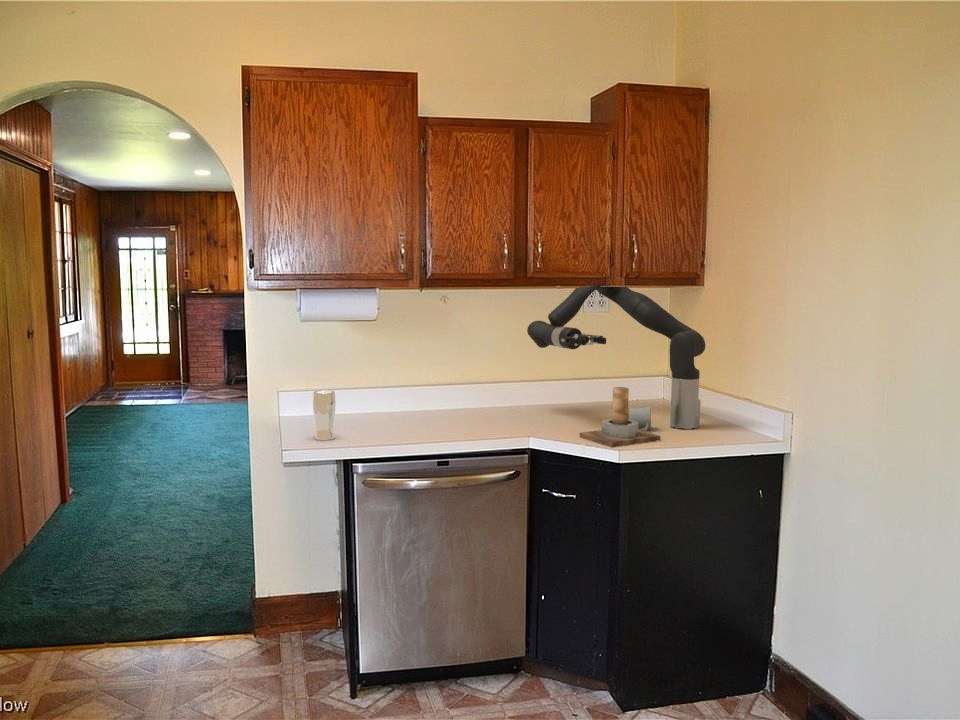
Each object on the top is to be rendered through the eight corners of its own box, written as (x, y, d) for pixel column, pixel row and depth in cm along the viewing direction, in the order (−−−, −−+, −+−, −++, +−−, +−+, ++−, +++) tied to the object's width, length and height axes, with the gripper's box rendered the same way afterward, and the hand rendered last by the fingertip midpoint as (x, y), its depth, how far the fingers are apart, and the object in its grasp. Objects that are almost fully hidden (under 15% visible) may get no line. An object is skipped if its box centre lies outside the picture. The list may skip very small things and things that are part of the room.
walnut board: (627, 431, 267) (627, 426, 267) (660, 440, 253) (660, 435, 253) (579, 437, 257) (579, 432, 257) (611, 447, 243) (611, 442, 243)
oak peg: (620, 432, 258) (621, 386, 256) (630, 434, 254) (632, 388, 252) (608, 433, 256) (609, 387, 254) (618, 436, 251) (619, 389, 250)
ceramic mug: (625, 426, 274) (626, 405, 273) (649, 427, 273) (650, 405, 272) (626, 433, 264) (627, 411, 263) (651, 434, 263) (652, 411, 262)
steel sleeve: (621, 429, 262) (622, 417, 262) (644, 435, 253) (645, 423, 252) (595, 432, 257) (595, 420, 256) (617, 439, 247) (618, 426, 247)
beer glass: (315, 436, 256) (314, 390, 254) (337, 435, 256) (336, 390, 254) (312, 440, 249) (311, 393, 247) (334, 440, 249) (334, 393, 248)
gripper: (550, 327, 276) (578, 331, 262) (582, 326, 283) (612, 329, 269) (550, 349, 277) (578, 353, 263) (582, 347, 284) (611, 351, 270)
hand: (595, 341), depth 266 cm, fingers open, 8 cm apart
